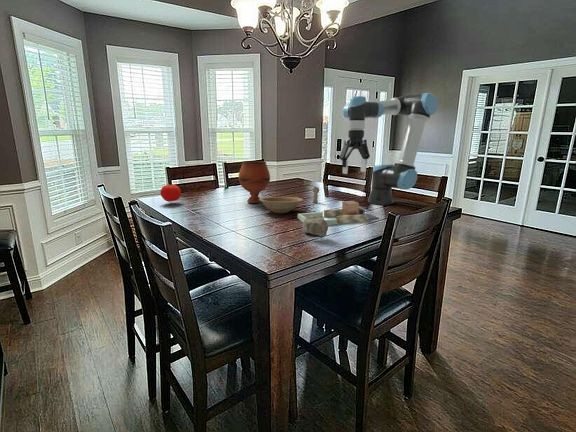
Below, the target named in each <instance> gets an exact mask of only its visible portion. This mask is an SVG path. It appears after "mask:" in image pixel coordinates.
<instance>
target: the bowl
mask: <svg viewBox="0 0 576 432" xmlns="http://www.w3.org/2000/svg"><path fill="white" fill-rule="evenodd" d="M259 198H260V199H259V200H260V201H261V202H260V203H262V204H263V205H264V206H265V208H267V209H268V210H270V211H271V212H272V213H274V214H287V213H289V212H291V211H293V210H294V209H295V208H297V206H298V205H299V203H302V202H303V201H304V199H303V198H300V197H295V196H267V197H259Z"/></svg>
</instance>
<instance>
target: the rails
mask: <svg viewBox="0 0 576 432" xmlns="http://www.w3.org/2000/svg"><path fill="white" fill-rule="evenodd" d="M307 215H313V216H317V217H320V218H323V217H324V211H318V212H316V211H315V212H303V213H297V220H300V221H301V222H302V223H303V222H304V218H305V216H307ZM324 220H325V221H326V223H327V225H328V226H331V225H332V226H334V225H337V224H336V218H333V219H332V218H330V219H324Z"/></svg>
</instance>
